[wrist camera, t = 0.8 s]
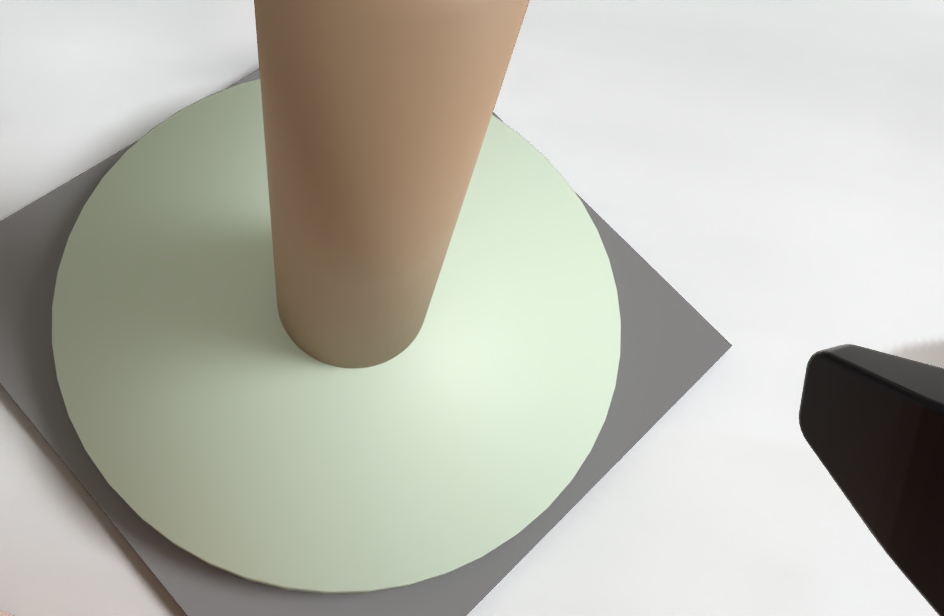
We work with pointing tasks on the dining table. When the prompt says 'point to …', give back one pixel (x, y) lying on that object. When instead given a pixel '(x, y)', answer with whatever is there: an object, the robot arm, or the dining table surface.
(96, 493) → the mat
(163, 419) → the peg stand
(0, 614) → the bowl
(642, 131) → the dining table surface
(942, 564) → the robot arm
